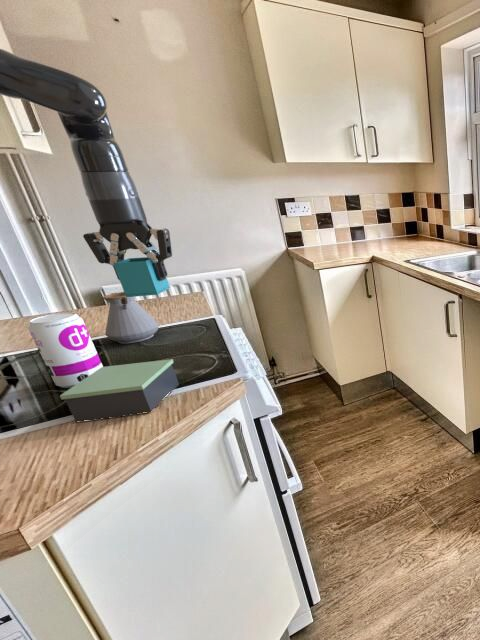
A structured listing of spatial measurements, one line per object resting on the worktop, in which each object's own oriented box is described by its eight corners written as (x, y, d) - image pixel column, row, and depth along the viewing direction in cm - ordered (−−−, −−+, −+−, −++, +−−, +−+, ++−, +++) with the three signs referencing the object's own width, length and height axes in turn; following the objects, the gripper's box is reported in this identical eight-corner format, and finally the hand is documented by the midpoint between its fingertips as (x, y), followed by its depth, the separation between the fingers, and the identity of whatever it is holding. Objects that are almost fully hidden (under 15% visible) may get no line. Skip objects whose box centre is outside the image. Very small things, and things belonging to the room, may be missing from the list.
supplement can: (115, 373, 98) (90, 312, 92) (76, 390, 90) (45, 324, 84) (87, 371, 99) (60, 310, 93) (46, 388, 92) (13, 323, 86)
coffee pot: (107, 339, 119) (86, 287, 113) (158, 328, 126) (140, 279, 121) (115, 360, 105) (91, 302, 99) (172, 346, 112) (152, 292, 107)
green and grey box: (73, 424, 78) (59, 395, 75) (113, 392, 89) (102, 366, 87) (152, 413, 81) (141, 385, 78) (181, 383, 92) (172, 359, 90)
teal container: (126, 297, 86) (113, 263, 84) (140, 290, 91) (128, 258, 89) (157, 294, 88) (145, 261, 85) (170, 288, 93) (159, 256, 90)
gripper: (165, 194, 87) (191, 274, 94) (82, 197, 84) (114, 280, 90) (147, 196, 80) (176, 282, 87) (55, 199, 77) (92, 288, 84)
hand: (144, 280), depth 89 cm, fingers closed on teal container, 5 cm apart
